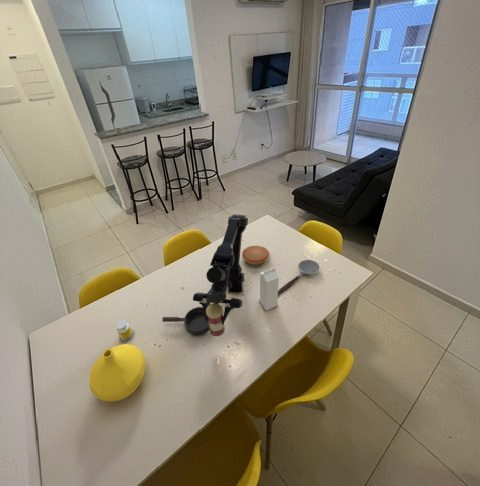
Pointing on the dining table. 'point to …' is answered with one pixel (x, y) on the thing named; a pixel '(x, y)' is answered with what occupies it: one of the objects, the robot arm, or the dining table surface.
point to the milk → (269, 288)
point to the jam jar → (215, 319)
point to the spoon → (302, 272)
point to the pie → (255, 255)
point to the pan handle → (172, 319)
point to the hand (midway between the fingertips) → (214, 323)
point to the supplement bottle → (124, 330)
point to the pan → (196, 322)
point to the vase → (117, 373)
